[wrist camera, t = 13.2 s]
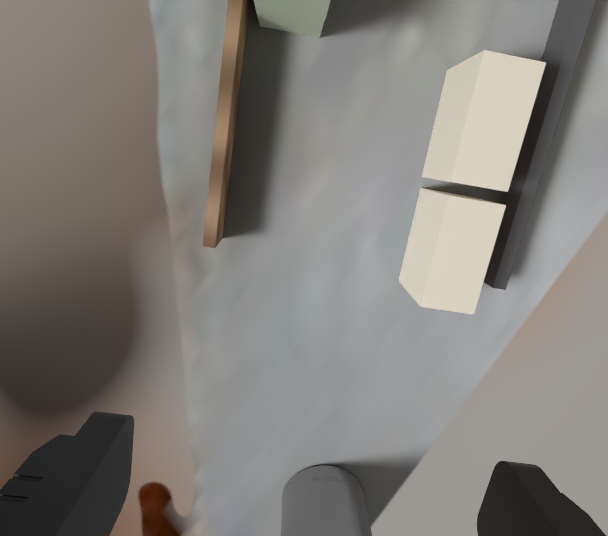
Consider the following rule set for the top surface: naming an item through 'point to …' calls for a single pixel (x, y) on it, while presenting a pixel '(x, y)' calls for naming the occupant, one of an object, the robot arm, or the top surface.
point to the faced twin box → (449, 249)
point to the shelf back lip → (225, 119)
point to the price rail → (539, 133)
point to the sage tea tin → (293, 15)
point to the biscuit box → (483, 120)
